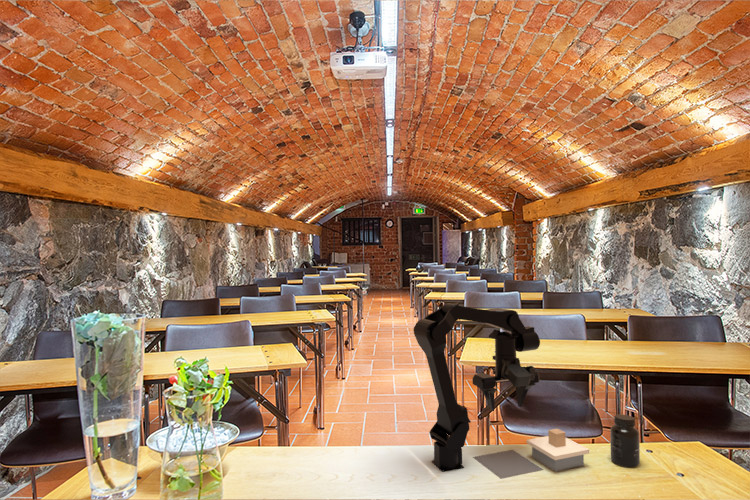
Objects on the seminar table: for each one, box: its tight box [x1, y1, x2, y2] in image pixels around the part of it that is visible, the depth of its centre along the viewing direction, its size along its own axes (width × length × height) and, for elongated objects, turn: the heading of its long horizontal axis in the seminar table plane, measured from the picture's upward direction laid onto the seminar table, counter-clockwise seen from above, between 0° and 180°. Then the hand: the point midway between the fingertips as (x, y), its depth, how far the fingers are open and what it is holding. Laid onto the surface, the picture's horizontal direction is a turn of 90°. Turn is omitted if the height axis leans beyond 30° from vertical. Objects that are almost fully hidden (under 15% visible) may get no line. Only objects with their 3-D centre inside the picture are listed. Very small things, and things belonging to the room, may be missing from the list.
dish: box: [531, 446, 585, 473], centre depth 123 cm, size 9×9×4 cm
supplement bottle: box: [609, 413, 641, 468], centre depth 123 cm, size 7×7×12 cm
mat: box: [472, 449, 544, 479], centre depth 122 cm, size 13×13×1 cm
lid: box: [526, 428, 590, 460], centre depth 123 cm, size 11×11×4 cm
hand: (506, 408), depth 131 cm, fingers open, 9 cm apart
